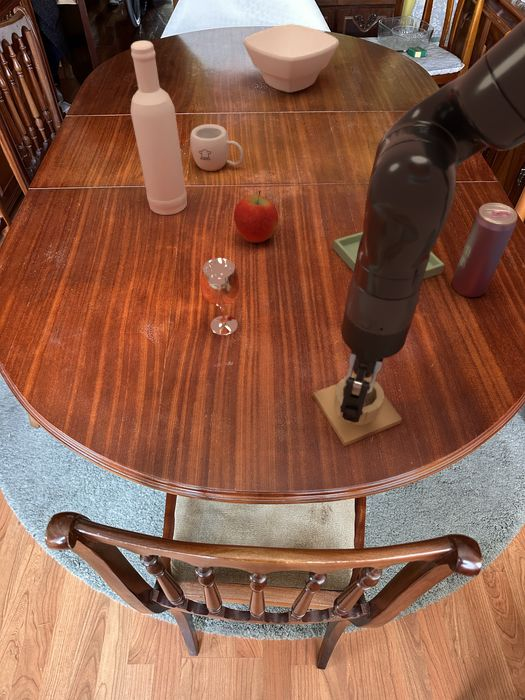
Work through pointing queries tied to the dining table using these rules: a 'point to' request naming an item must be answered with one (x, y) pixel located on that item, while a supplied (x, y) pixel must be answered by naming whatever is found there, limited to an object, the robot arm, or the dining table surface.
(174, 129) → the bottle
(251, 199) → the apple
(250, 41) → the bowl
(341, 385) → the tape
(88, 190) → the dining table surface
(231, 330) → the wineglass
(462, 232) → the dining table surface
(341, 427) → the peg stand
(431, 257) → the tray
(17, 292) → the dining table surface
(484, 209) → the beverage can
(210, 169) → the mug
